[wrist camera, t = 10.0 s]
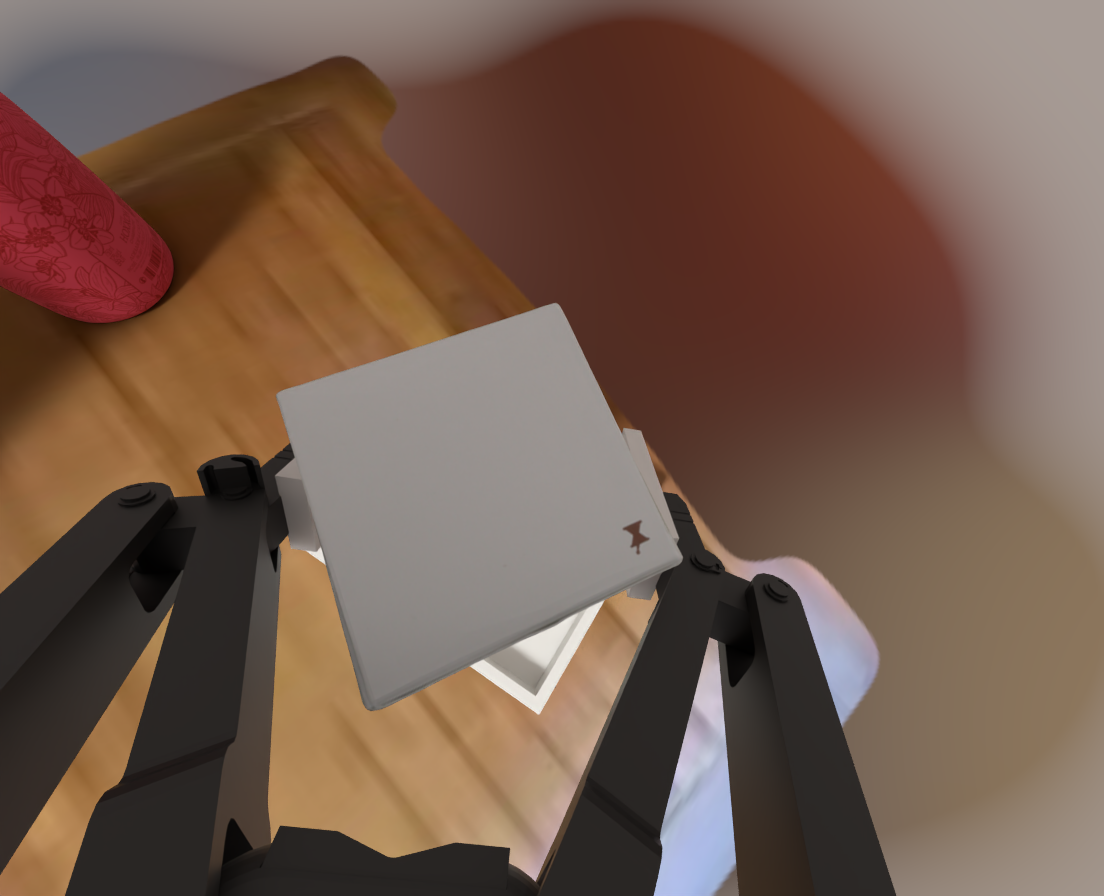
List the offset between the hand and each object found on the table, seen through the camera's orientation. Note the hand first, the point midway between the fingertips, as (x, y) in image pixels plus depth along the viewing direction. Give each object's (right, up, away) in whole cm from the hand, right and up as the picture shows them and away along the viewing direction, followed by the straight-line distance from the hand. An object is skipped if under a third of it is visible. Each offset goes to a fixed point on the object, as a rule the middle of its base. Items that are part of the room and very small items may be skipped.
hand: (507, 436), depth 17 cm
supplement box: (-1, -4, +4) cm, 6 cm away
